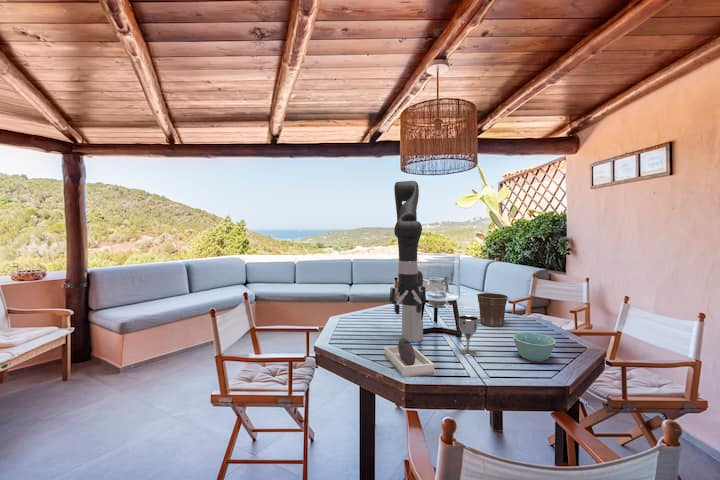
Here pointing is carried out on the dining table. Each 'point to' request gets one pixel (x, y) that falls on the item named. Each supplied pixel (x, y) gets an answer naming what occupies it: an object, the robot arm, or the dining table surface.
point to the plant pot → (492, 309)
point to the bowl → (534, 346)
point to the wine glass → (468, 331)
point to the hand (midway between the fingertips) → (407, 313)
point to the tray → (418, 368)
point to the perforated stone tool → (406, 351)
